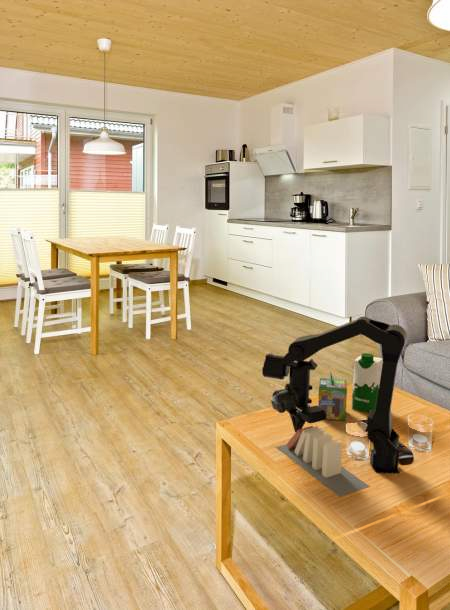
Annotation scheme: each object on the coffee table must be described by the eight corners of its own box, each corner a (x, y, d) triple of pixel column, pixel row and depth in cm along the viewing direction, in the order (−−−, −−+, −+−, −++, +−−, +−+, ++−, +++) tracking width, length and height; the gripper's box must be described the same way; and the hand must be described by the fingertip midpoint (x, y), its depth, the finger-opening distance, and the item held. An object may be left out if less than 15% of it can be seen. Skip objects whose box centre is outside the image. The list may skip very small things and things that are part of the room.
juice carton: (345, 421, 166) (348, 379, 163) (317, 419, 168) (319, 377, 165) (344, 410, 175) (347, 369, 172) (317, 408, 177) (320, 367, 174)
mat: (275, 448, 148) (275, 447, 148) (303, 441, 153) (303, 439, 153) (339, 498, 124) (339, 496, 124) (370, 487, 129) (370, 486, 129)
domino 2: (294, 451, 144) (302, 429, 140) (308, 447, 147) (317, 426, 142) (297, 456, 143) (306, 434, 138) (311, 452, 145) (320, 430, 141)
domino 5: (321, 474, 134) (323, 443, 132) (336, 470, 136) (338, 439, 134) (325, 477, 132) (327, 446, 130) (340, 473, 135) (342, 442, 133)
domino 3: (302, 459, 141) (306, 431, 138) (317, 455, 143) (320, 427, 140) (306, 462, 140) (309, 434, 137) (320, 458, 142) (324, 430, 139)
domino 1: (286, 444, 148) (298, 429, 141) (300, 441, 150) (312, 425, 144) (288, 449, 147) (300, 434, 141) (302, 445, 149) (315, 430, 143)
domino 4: (312, 467, 137) (313, 436, 135) (326, 463, 140) (328, 433, 138) (315, 470, 136) (317, 439, 134) (330, 465, 138) (332, 435, 136)
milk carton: (348, 409, 176) (352, 354, 172) (357, 400, 183) (360, 348, 179) (373, 415, 171) (378, 359, 167) (381, 406, 179) (385, 352, 174)
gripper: (257, 375, 148) (256, 425, 151) (295, 398, 132) (293, 453, 135) (289, 370, 153) (287, 418, 156) (329, 390, 137) (326, 443, 140)
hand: (297, 432), depth 147 cm, fingers closed
